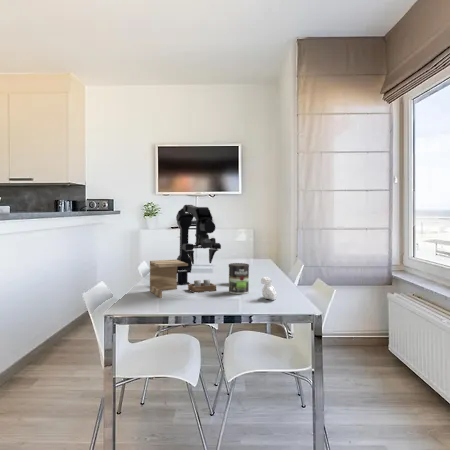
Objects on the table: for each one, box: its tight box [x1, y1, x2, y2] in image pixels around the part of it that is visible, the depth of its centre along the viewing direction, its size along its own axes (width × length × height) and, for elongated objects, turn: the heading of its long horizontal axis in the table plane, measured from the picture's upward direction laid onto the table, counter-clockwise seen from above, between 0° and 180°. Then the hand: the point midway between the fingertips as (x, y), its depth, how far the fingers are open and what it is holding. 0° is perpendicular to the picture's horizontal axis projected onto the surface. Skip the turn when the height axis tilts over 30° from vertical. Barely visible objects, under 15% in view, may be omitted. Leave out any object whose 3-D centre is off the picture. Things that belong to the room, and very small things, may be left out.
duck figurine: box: [260, 276, 278, 301], centre depth 183 cm, size 12×8×11 cm
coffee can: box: [228, 262, 250, 295], centre depth 198 cm, size 10×10×14 cm
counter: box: [149, 259, 188, 299], centre depth 194 cm, size 18×14×15 cm
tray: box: [187, 279, 217, 293], centre depth 202 cm, size 9×12×5 cm
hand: (201, 263), depth 195 cm, fingers open, 9 cm apart
